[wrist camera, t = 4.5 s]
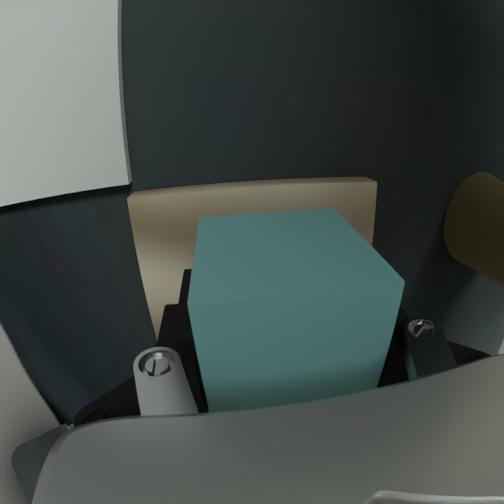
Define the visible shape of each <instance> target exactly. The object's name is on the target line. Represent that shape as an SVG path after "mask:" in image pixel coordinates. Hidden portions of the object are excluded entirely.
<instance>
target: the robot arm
mask: <svg viewBox="0 0 504 504" xmlns="http://www.w3.org/2000/svg"><path fill="white" fill-rule="evenodd" d="M191 272H192V269H184V273H183V278H182V284H181V290H180V296H179V302H178V304H166V305H165V307H164V311H163V316H162V321H161V325H160V330H159V335H158V340H157V345H156V347H153V348H150V349H147V350H145V351H143V352H142V353H140V354H139V355H138V356H137V357H136V359H135V361H134V365H133V369H134V376H133V377H131V378H130V379H128V380H126V381H125V382H123V383H122V384H120V385H119V386H117V387H115V388H114V389H112V390H111V391H109V392H108V393H106V394H104V395H103V396H101V397H100V398H98V399H96V400H95V401H93V402H92V403H90V404H88V405H87V406H85V407H84V408H82V409H81V410H80V411H79V412H78V413H77V415H76V416H75V419H74V422H73V424H71V425H69V426H68V425H67V424H66V423H64V424H62V425H60V426H58V427H56V428H54V429H52V430H50V431H48V432H46V433H43V434H41V435H39V436H37V437H35V438H33V439H31V440H28V441H26V442H24V443H22V444H20V445H19V446H17V447H16V449H15V450H14V451H13V453H12V457H11V461H12V466H13V469H14V472H15V475H16V478H17V481H18V484H19V486H20V489H21V492H22V494H23V497H24V499H25V502H26V504H504V354H500V355H493V356H491V355H489V354H487V353H485V352H481V351H478V350H475V349H472V348H469V347H466V346H463V345H460V344H457V343H454V342H451V341H448V340H447V339H446V336H445V334H444V332H443V329H442V328H441V326H440V325H439V324H438V323H437V322H436V321H434V320H432V319H430V318H426V317H412V318H410V319H409V317H408V316H407V315H406V314H405V312H404V310H403V309H402V308H401V307H400V306H399V310H398V315H397V319H396V323H395V327H394V330H393V334H392V338H391V342H390V345H389V349H388V352H387V356H386V359H385V363H384V366H383V369H382V372H381V376H380V379H379V382H378V385H377V388H376V389H372V390H367V391H363V392H358V393H353V394H348V395H343V396H338V397H333V398H328V399H322V400H316V401H310V402H304V403H297V404H290V405H283V406H275V407H267V408H258V409H249V410H238V411H226V412H211V413H209V407H208V403H207V399H206V394H205V390H204V385H203V381H202V376H201V372H200V367H199V362H198V357H197V352H196V347H195V342H194V337H193V332H192V327H191V322H190V316H189V311H188V305H187V302H188V294H189V287H190V279H191Z"/></svg>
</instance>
